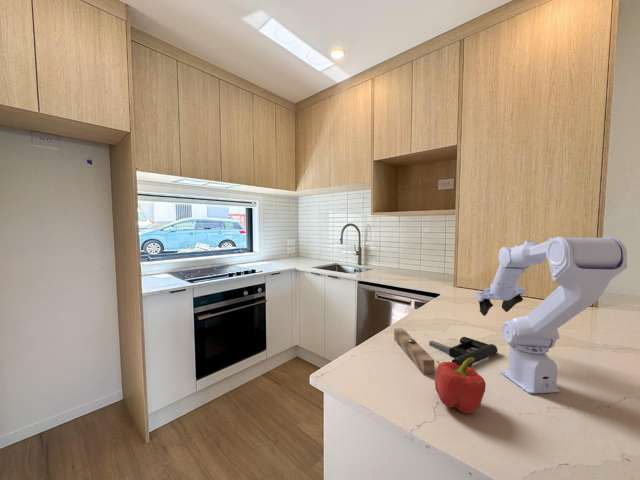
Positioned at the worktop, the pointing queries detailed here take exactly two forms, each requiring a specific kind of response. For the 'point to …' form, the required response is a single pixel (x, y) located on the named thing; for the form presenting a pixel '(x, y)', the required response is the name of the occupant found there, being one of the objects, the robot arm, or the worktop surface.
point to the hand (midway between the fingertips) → (493, 311)
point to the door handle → (460, 353)
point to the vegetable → (459, 386)
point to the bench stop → (414, 351)
